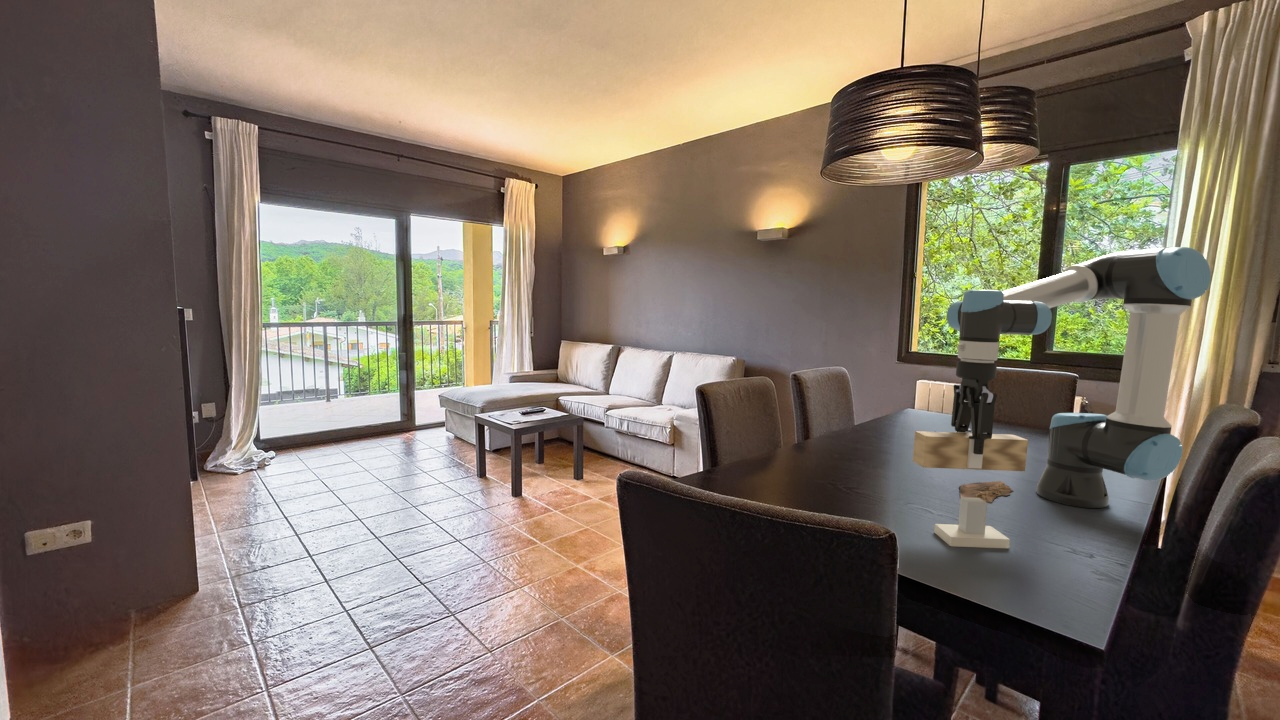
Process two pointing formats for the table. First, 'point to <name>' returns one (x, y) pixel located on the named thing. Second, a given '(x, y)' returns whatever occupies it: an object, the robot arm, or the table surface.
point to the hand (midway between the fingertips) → (967, 463)
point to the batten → (954, 451)
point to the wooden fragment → (985, 490)
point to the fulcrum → (972, 527)
